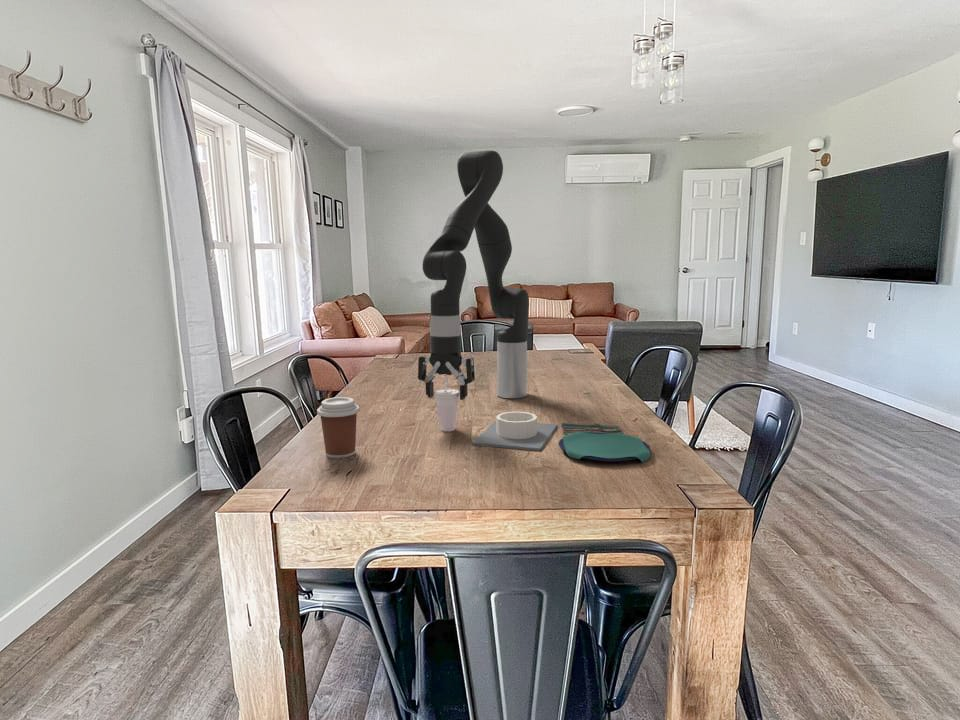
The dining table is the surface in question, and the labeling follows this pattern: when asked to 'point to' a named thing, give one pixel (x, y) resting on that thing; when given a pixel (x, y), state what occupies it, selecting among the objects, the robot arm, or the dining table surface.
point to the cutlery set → (602, 444)
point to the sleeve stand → (516, 432)
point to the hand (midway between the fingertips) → (446, 398)
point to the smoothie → (446, 407)
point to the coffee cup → (339, 426)
